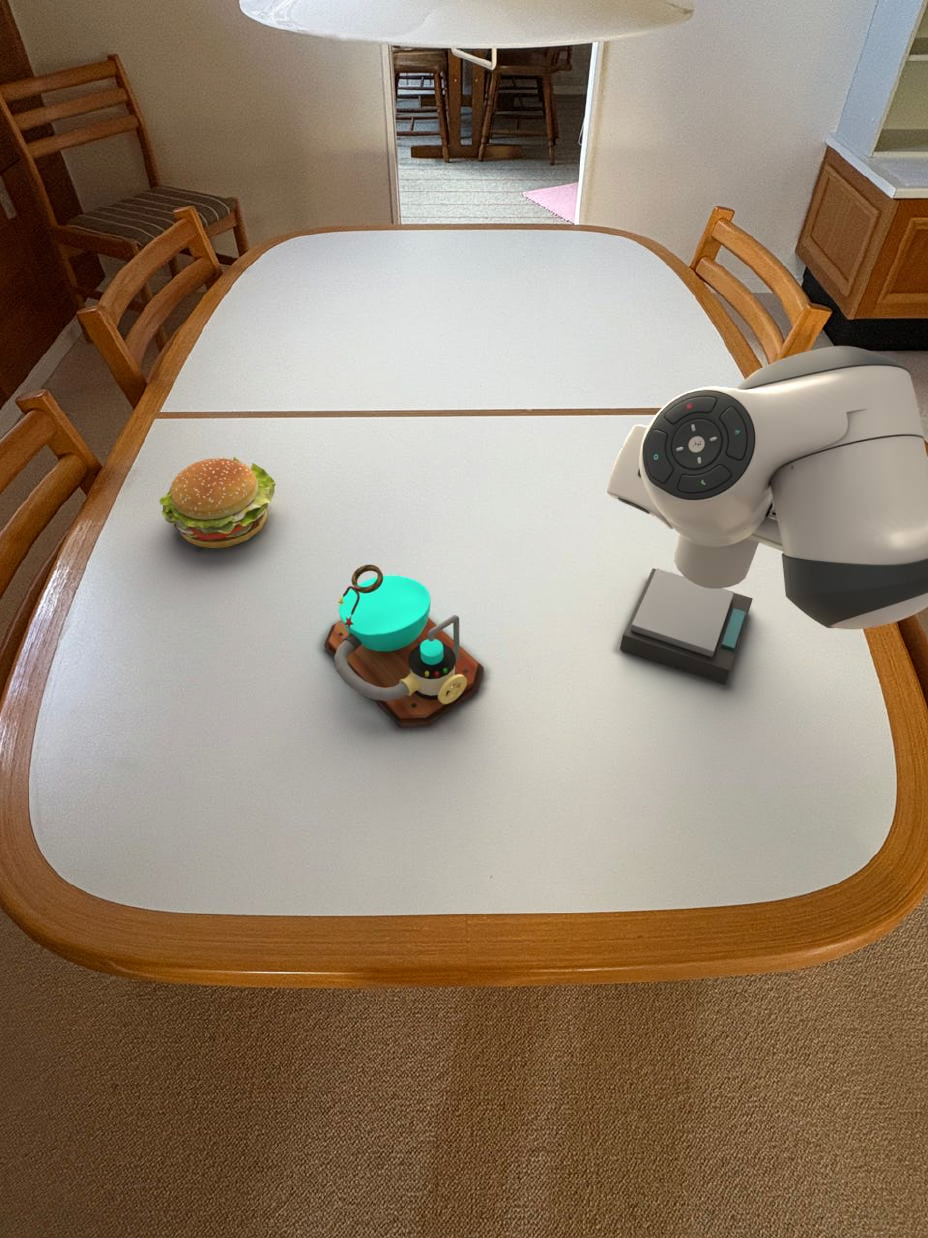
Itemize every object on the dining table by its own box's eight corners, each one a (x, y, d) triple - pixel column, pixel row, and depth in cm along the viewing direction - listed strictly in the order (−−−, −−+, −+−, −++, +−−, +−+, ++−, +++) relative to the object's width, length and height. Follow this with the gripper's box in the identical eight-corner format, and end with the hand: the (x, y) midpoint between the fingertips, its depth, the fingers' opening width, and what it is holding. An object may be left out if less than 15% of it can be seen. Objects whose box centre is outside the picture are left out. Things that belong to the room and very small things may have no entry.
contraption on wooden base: (392, 752, 80) (380, 657, 69) (297, 649, 89) (273, 551, 78) (495, 681, 86) (499, 584, 75) (396, 592, 95) (387, 493, 84)
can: (692, 600, 78) (722, 506, 69) (660, 551, 83) (683, 457, 74) (759, 586, 79) (797, 492, 71) (724, 538, 84) (754, 445, 76)
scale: (747, 612, 93) (755, 591, 91) (724, 685, 86) (732, 664, 83) (649, 582, 97) (654, 561, 94) (619, 649, 89) (623, 628, 87)
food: (219, 573, 98) (204, 524, 92) (151, 527, 104) (132, 478, 98) (301, 517, 105) (291, 468, 99) (232, 477, 111) (219, 429, 105)
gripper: (863, 496, 60) (848, 523, 73) (617, 417, 67) (643, 454, 80) (828, 573, 61) (819, 586, 74) (588, 486, 68) (618, 512, 81)
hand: (725, 517), depth 77 cm, fingers closed on can, 7 cm apart
